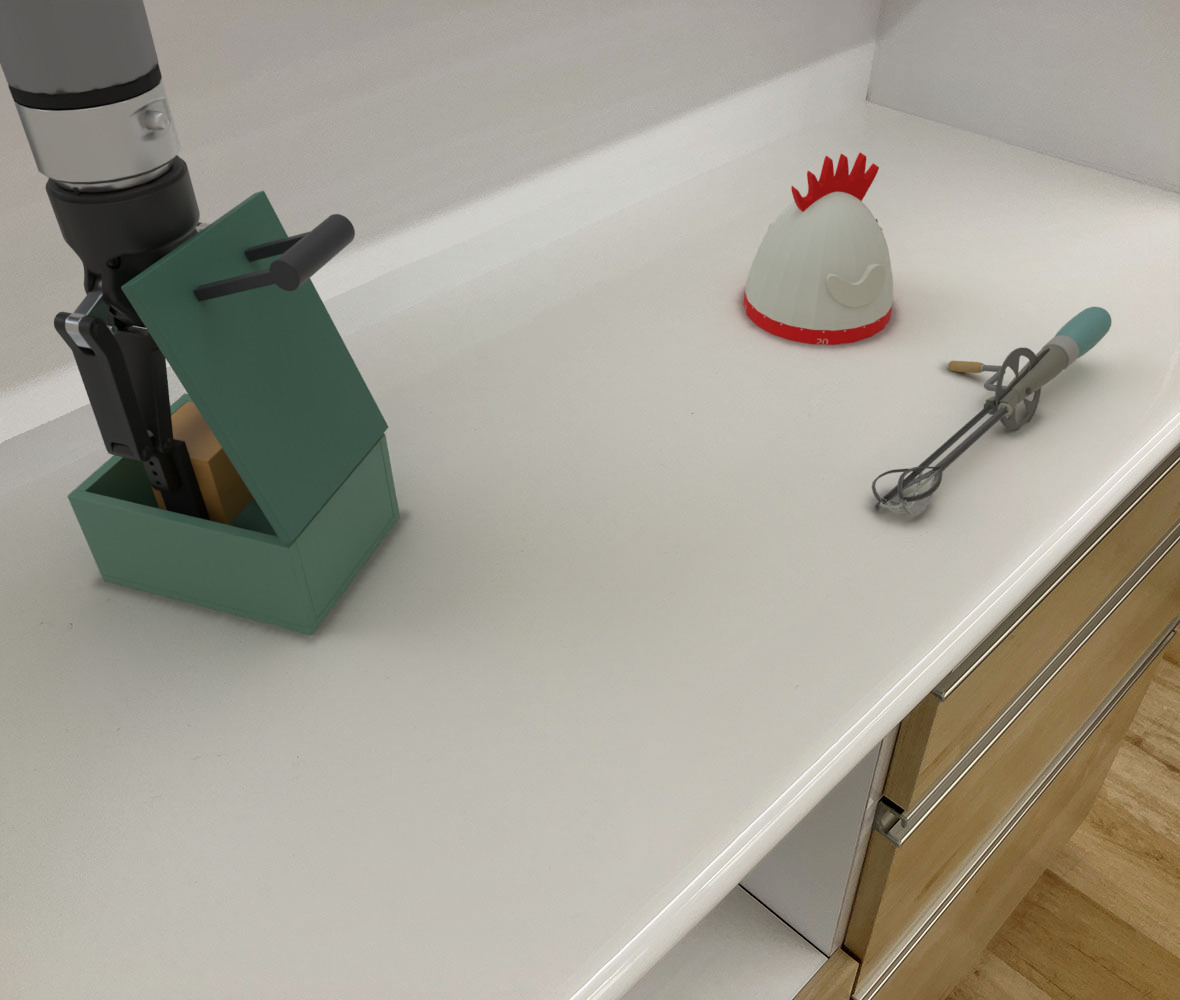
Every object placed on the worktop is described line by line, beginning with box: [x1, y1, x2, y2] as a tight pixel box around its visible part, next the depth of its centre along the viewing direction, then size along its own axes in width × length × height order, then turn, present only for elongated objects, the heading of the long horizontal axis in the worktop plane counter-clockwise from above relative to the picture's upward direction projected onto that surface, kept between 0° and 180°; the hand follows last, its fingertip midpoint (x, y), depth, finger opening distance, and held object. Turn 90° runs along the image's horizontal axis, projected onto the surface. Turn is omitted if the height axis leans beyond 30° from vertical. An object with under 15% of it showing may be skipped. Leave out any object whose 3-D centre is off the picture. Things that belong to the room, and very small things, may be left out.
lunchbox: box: [67, 393, 401, 636], centre depth 73 cm, size 17×13×8 cm
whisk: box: [871, 306, 1112, 516], centre depth 85 cm, size 11×32×7 cm, turn 132°
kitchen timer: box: [743, 152, 894, 346], centre depth 96 cm, size 14×14×15 cm
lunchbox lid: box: [121, 190, 389, 543], centre depth 62 cm, size 17×13×8 cm
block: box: [148, 401, 254, 525], centre depth 71 cm, size 6×6×6 cm
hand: (216, 490), depth 73 cm, fingers closed on block, 5 cm apart
